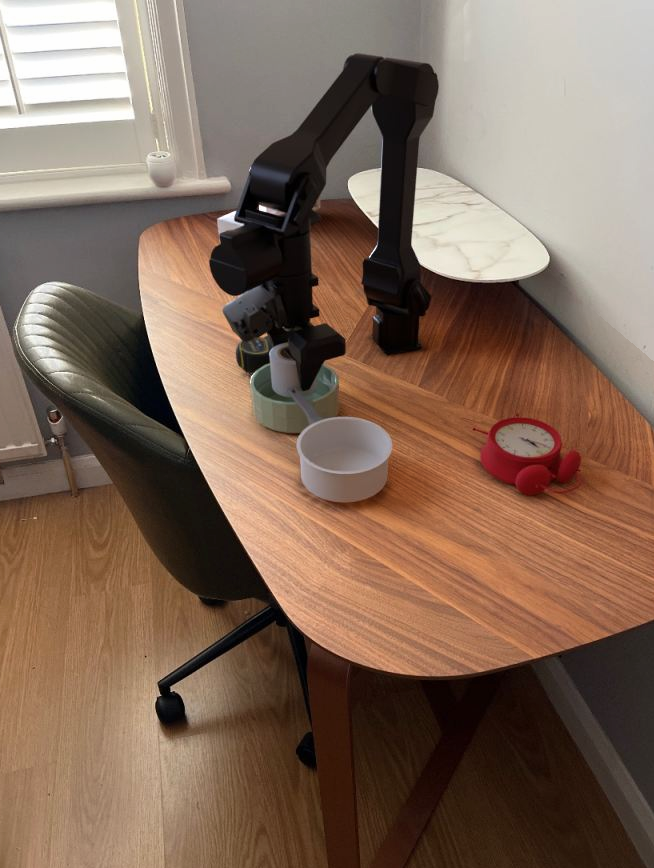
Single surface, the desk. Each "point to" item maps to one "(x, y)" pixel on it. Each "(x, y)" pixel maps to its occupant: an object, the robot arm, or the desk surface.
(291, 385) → the tape roll
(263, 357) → the tape measure
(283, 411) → the bowl
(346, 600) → the desk surface
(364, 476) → the saucepan
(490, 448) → the alarm clock
